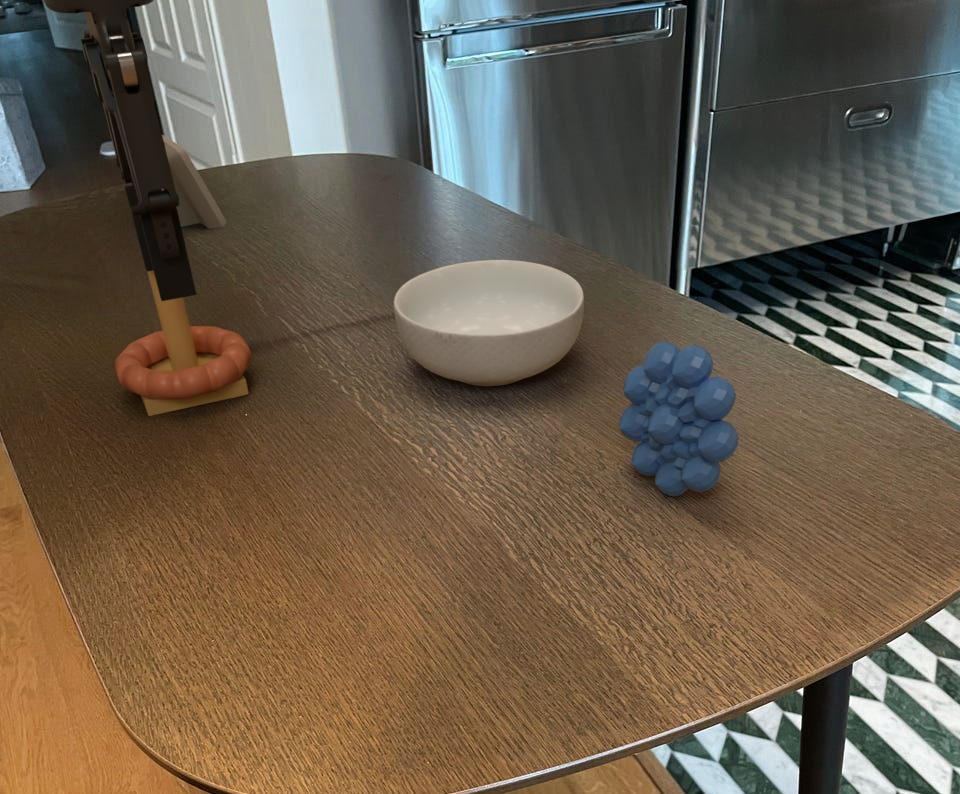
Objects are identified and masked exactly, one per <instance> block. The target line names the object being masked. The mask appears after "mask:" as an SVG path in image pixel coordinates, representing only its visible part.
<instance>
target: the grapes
mask: <svg viewBox="0 0 960 794" xmlns="http://www.w3.org/2000/svg"><path fill="white" fill-rule="evenodd" d="M713 367H714V361H713V357H712V355H711V353H710V352H709V351H708V350H707V349H706V348H705V347H703V346H700V345H697V344H693V345H692V344H691V345H688V346H684V348H683V349H680V348H679V347H678V346H677V345H676V344H675V343H673V342H671V341H667V340H665V341H659V342H656V343H655V344H654V345H652V346H651V347H650V349H648V351H647V353H646V355H645V357H644V361H643V364H642V365H641V364H640V365H636V366H635V367H633V368H632V369H631V370H630V371H629V372H628V373H627V376H626V377H625V379H624V381H623V387H622V388H623V390H622V391H623V394H624V396H625V398H626V399H627V400H628V401H629V402H630V403H631V404H629V405H628V406H627V407H626V408H624V410H623V412H622V413H621V416H620V418H619V422H618V429H619V432H621V434H622V435H623V436H624V437H625V438H626V439H627V440H629V441H632V442H634V443H637V442H639V443H637V444H636V446H635V448H634V450H633V452H632V454H631V460H630V461H631V466H632V467H633V469H634V470H635V471H636V472H637V473H638V474H639V475H642V476H645V477H648V476H649V477H655V479H654V481H655V486H656V488H657V489H658V490H659V491H660V493H662V494H663V493H664V494H663V495H666V494H667V495H666V496H669V497H671V496H672V497H679V495H680V496H682V495H683V494H684V493H686V492H687V491H688V490H691V491H694V492H696V493H703V492H707V491H709V490H710V489H712V488H713V487H714V486H716V484H717V482H718V481H719V479H720V478H721V477H720V476H721V471H722V468H721V464H720V463H722V462H725V461H727V460H728V459H729V458H731V457H732V456H733V455H734V453H735V452H736V449H737V447H738V445H739V434H738V432H737V429H736V428H735V427H734V425H732V424H731V423H730V422H728V421H725V420H723V419H724V418H725V417H727V416H728V415H729V414H730V413H731V411H732V410H733V407H734V405H735V403H736V399H737V398H736V397H737V393H736V390H735V387H734V386H733V384H732V383H731V382H730V381H729V379H726V378H723V377H720V376H713V377H711V374H712V372H713Z"/></svg>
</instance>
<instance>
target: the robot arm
mask: <svg viewBox="0 0 960 794" xmlns="http://www.w3.org/2000/svg"><path fill="white" fill-rule="evenodd" d="M153 1H155V0H43V2H44V5H45V6H46V7H47V8H48V9H49V10H50V11H52V12H55V13H59V14H80V13H84V17H85V20H86V25H87V29H84V30H83V38H80V44H81V49H82V52H83V56H84V59H85V61H86V64H87V66H88V67H89V68H90V72H91V75H92V80H93V84H94V88H95V91H96V94H97V96H98V99H99V101H100V102H101V103H102V107H103V110H104V115H105V120H106V123H107V127H108V131H109V135H110V139H111V143H112V147H113V151H114V155H115V159H114V162H115V165H116V167H117V168H118V169H119V171H120V173H119V174H120V178H121V180H123V182H124V184H125V185H126V184H130V185H127V186H124V190H125V194H126V199H127V202H128V205H129V210H130V213H131V217H132V221H133V226H134V229H135V232H136V236H137V241H138V244H139V248H140V253H141V256H142V260H143V264H144V268H145V270H146V272H147V271H154V275H155V279H156V283H157V286H158V290H159V294H160V298H161V300H162V301H166V300H172V299H177V298H182V297H183V298H187V297H192V296H197V291H196V286H195V281H194V278H193V273H192V268H191V264H190V260H189V255H188V252H187V251H188V250H187V246H186V242H185V238H184V234H183V229H182V227H181V224H180V220H179V216H178V211H177V208H176V207H178V206H179V196H178V194H177V193H176V191H175V186H174V182H173V178H172V174H171V170H170V166H169V162H168V157H167V153H166V149H165V145H164V141H163V137H162V135H163V132H162V129H161V124H160V121H159V115H158V111H157V108H156V103H155V101H156V97H155V94H154V90H153V89H154V88H153V86H152V81H151V79H150V75H149V71H148V67H147V64H148V60H149V59H148V58H149V57H148V53H147V50H146V45H145V41H144V39H143V37H141V36H140V37H139V35H138V33H137V32H132V29H131V26H130V22H129V19H128V17H127V16H128V15H127V13H126V11H127V9H129V8H139V7H142V6H146V5H149V4H151V3H153ZM162 189H164V190H162Z"/></svg>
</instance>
